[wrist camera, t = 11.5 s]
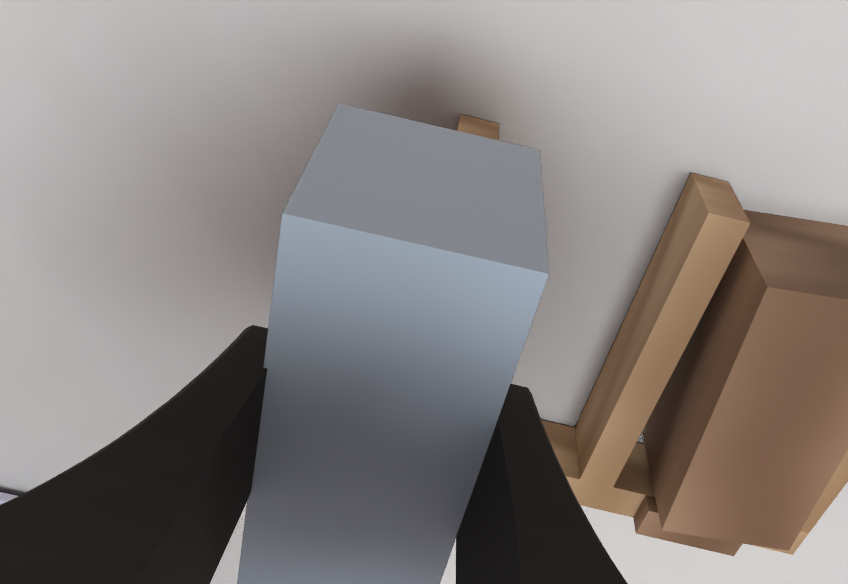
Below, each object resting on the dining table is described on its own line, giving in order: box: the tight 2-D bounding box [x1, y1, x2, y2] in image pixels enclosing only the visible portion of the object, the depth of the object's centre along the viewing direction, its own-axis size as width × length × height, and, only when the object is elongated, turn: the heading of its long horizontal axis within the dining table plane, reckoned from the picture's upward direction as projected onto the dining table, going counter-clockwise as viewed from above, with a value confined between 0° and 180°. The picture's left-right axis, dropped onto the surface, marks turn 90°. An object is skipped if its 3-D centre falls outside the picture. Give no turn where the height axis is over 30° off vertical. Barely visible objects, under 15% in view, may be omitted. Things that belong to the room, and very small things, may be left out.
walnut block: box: [643, 210, 848, 551], centre depth 21 cm, size 4×8×4 cm, turn 173°
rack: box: [456, 114, 848, 556], centre depth 22 cm, size 13×10×3 cm
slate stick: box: [237, 103, 549, 584], centre depth 14 cm, size 4×8×4 cm, turn 168°
